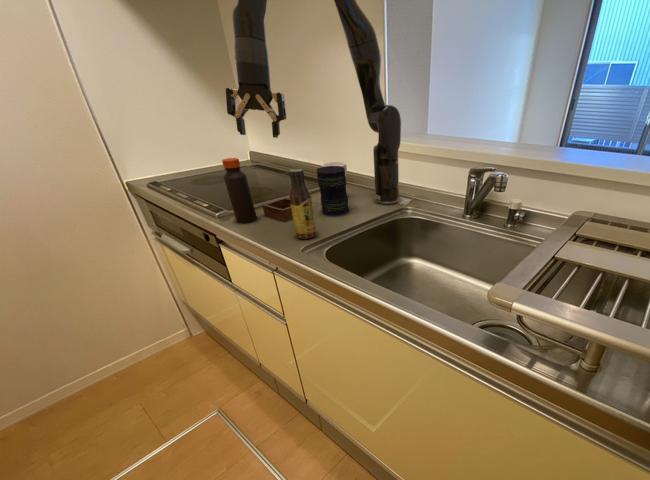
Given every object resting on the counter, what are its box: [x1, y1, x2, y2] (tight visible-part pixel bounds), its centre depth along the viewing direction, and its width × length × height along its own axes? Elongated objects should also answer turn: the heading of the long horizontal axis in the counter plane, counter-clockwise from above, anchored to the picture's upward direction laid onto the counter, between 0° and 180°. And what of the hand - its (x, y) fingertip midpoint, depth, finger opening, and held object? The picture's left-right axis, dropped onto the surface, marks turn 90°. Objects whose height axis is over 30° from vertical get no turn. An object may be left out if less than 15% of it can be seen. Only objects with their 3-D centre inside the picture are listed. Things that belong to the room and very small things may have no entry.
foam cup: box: [321, 161, 348, 177], centre depth 136 cm, size 10×9×13 cm
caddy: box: [261, 197, 293, 222], centre depth 123 cm, size 10×11×4 cm
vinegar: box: [221, 157, 258, 224], centre depth 114 cm, size 7×7×20 cm
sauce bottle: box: [288, 168, 317, 240], centre depth 101 cm, size 6×6×20 cm
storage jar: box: [316, 166, 350, 217], centre depth 121 cm, size 10×10×15 cm
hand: (259, 136), depth 90 cm, fingers open, 8 cm apart
